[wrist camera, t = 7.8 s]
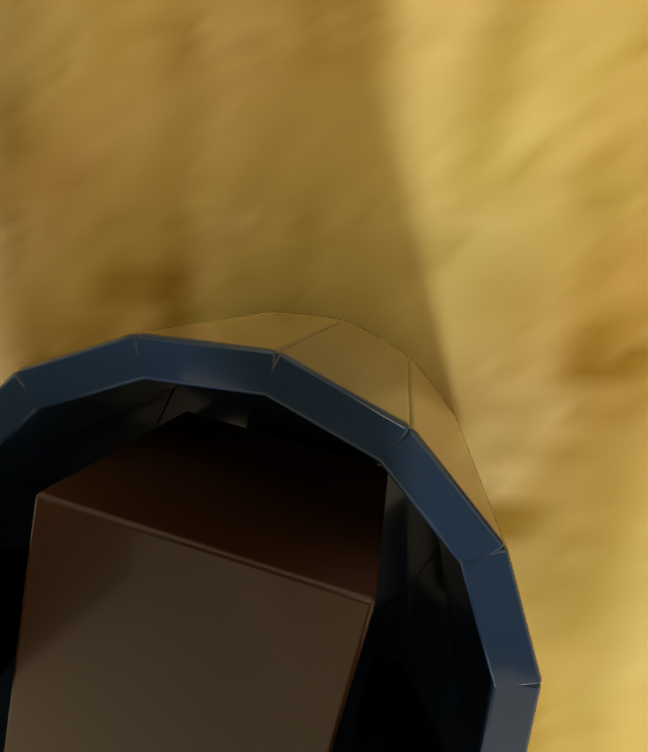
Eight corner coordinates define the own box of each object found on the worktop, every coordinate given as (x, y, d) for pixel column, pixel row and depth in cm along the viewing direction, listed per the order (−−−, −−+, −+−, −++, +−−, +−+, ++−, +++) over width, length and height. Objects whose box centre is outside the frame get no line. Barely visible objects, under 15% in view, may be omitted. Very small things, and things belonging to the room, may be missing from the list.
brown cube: (152, 590, 11) (-2, 772, 7) (185, 409, 10) (32, 492, 6) (337, 651, 11) (292, 887, 7) (389, 467, 10) (376, 601, 6)
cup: (197, 652, 15) (27, 947, 8) (97, 364, 14) (-192, 434, 7) (504, 603, 13) (607, 933, 6) (416, 268, 12) (428, 241, 5)
